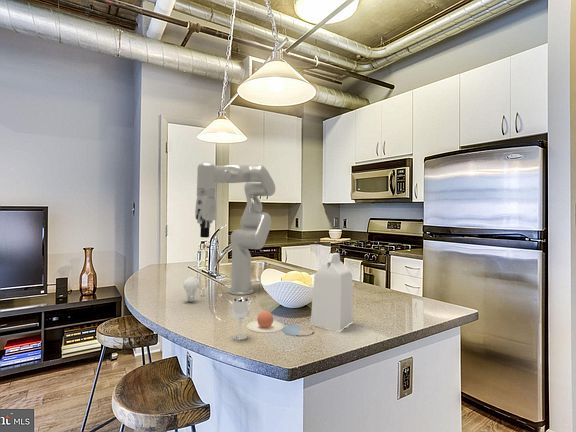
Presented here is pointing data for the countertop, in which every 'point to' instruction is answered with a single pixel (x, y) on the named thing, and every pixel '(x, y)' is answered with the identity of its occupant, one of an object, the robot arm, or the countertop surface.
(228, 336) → the countertop surface
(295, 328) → the disc
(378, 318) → the countertop surface
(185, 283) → the light bulb
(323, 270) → the milk
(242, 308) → the wineglass
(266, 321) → the ball
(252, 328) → the disc
